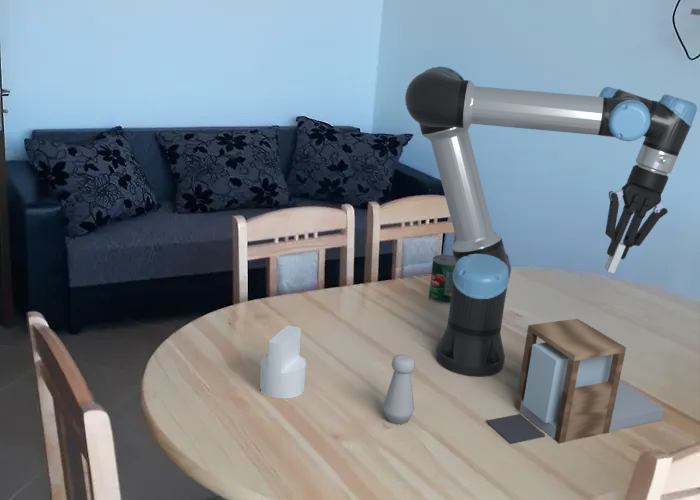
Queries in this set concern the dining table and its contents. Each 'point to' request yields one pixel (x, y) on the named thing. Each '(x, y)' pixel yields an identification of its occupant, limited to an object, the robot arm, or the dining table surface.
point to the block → (557, 379)
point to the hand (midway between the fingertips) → (609, 270)
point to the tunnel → (581, 402)
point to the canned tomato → (442, 278)
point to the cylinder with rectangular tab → (283, 365)
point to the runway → (615, 411)
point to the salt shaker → (400, 391)
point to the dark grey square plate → (515, 428)
